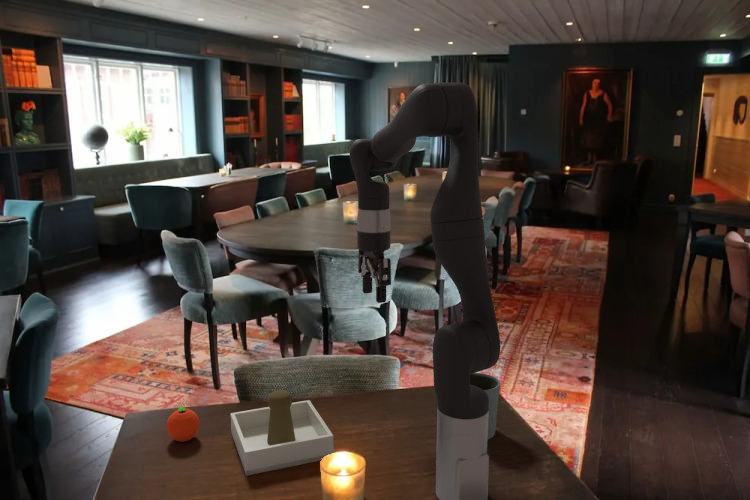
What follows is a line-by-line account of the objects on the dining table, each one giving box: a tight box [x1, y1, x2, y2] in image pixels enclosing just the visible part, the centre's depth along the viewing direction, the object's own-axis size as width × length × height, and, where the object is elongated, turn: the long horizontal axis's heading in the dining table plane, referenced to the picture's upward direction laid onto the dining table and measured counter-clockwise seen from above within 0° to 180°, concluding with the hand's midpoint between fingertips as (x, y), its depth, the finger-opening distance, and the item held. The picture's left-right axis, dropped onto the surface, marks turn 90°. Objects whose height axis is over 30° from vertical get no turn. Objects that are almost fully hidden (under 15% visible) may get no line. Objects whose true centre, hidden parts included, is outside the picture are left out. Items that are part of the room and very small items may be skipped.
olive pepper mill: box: [266, 389, 296, 446], centre depth 134 cm, size 6×6×11 cm
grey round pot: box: [470, 372, 501, 441], centre depth 139 cm, size 10×10×12 cm
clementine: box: [166, 406, 201, 442], centre depth 137 cm, size 8×7×7 cm
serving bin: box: [230, 399, 335, 477], centre depth 134 cm, size 18×18×5 cm
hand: (374, 297), depth 145 cm, fingers open, 8 cm apart
